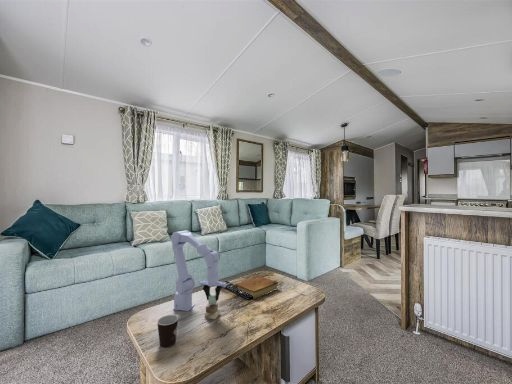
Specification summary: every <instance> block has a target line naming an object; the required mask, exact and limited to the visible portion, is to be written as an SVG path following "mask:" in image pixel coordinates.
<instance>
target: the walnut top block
mask: <svg viewBox="0 0 512 384" xmlns="http://www.w3.org/2000/svg"><path fill="white" fill-rule="evenodd" d="M217 309H219V304H218V302H217V303H216V304H209V302H208V303H207V305H206V306H205V312H206V313H215V312H216V311H217Z"/></svg>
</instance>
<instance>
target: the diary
mask: <svg viewBox="0 0 512 384" xmlns="http://www.w3.org/2000/svg"><path fill="white" fill-rule="evenodd" d="M278 284H279V281H276V280H273V279H271V278H267V277H264V276H261V275H258V276H256V277H253V278H249V279H246V280H243V281H241V282H238V283H235V285H234V290H235V289H236V288H238V289H239V290H242V291H244V292H246V293H248V294H250V295H252V296H253V299H252V300H254V299H255V300H257V299H259V298H261V297H260V296H262V295H263V294H265V293H268V292H270V291H272V290H274V289H276V288H277V289H278ZM258 297H259V298H258ZM262 297H263V296H262ZM256 298H257V299H256Z"/></svg>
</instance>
